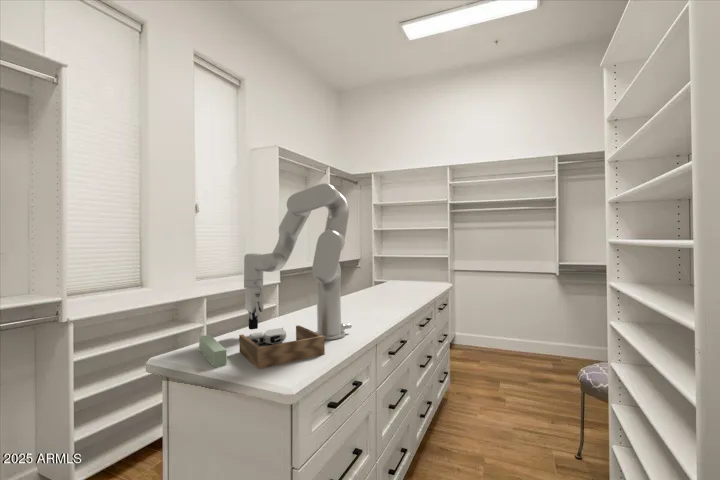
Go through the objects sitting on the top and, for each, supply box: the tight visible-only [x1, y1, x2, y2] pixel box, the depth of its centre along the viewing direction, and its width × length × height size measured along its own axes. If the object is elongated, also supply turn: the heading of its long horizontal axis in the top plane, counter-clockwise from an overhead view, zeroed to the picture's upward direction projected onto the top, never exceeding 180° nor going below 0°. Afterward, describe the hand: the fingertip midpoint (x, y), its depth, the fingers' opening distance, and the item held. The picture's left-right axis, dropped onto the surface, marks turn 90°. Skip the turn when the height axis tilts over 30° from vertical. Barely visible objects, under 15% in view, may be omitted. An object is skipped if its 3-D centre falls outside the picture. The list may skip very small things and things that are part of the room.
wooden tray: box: [238, 325, 326, 370], centre depth 119 cm, size 22×20×6 cm
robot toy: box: [246, 327, 287, 346], centre depth 132 cm, size 12×4×15 cm
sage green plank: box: [198, 334, 227, 368], centre depth 117 cm, size 23×4×5 cm, turn 35°
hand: (253, 328), depth 142 cm, fingers closed
